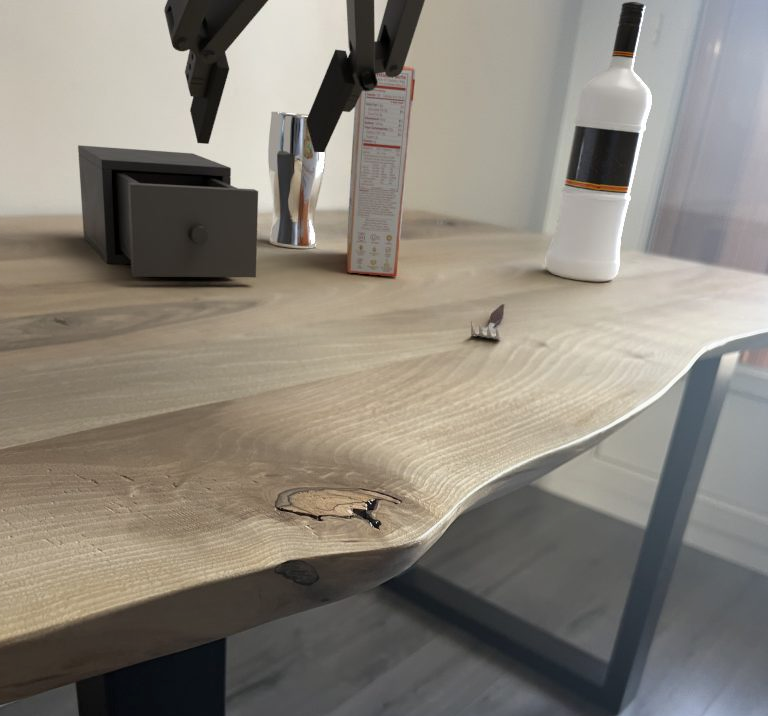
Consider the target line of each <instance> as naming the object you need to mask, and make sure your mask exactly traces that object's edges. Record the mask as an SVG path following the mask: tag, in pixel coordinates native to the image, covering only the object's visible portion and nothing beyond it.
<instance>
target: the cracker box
mask: <svg viewBox="0 0 768 716" xmlns="http://www.w3.org/2000/svg"><path fill="white" fill-rule="evenodd" d="M375 75H376V78H377V82H378V84H377V86H376V88H374V89H373V90H371V91H362V93H361V95H360V97H359V99H358V100H357V103H356V105H355V107H354V112H353V113H354V115H353V117H354V118H353V131H352V148H351V162H350V163H351V165H350V181H349V197H348V198H349V199H348V215H347V216H348V217H347V218H348V219H347V236H346V237H347V242H346V243H347V244H346V248H347V249H346V261H347V262H346V263H347V264H346V265H347V273H348V272H349V273H348V274H351V273H360V274H369V275H368V276H377V275H380V277H390V276H392V277H393V278H395V277H397V276H398V266H399V265H398V264H399V253H400V243H401V233H402V232H401V231H402V221H403V208H404V199H405V187H406V176H407V166H408V165H407V164H408V154H409V146H410V145H409V144H410V134H411V123H412V114H413V113H412V112H413V102H414V93H415V85H416V68H415V67H411V66H405V65H404V67H403V70H402V72H401V73H400V74H399V75H398V76H396V77H388V76H387V75H386V73H385V72H383V73H378V74H375ZM360 274H359V275H360ZM392 277H391V278H392Z"/></svg>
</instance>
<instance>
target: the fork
mask: <svg viewBox="0 0 768 716" xmlns="http://www.w3.org/2000/svg"><path fill="white" fill-rule="evenodd" d="M505 306H506V305H505V303H502V304H500V305H499V306H498V307H497V308H495V309H494V310H493V311H492V312H491V314H490V317H489V324H487V326H485V328H482V324H481V322H480V323H479V327H478V331H479V334H477V333H476V331H475V328H474V324H473V321H471V322H470V335H471V336H472V335H475V336H474V337H477V336H481V337H480V338H483V337H487V338H486V339H489V338H494V339H493V340H495V339H501V340H502V338H501V336H500V332H499V326H498V324H499V323H501V322H502V321H503V318H504V311H505V310H504V309H505ZM494 327H495V328H494ZM483 332H486V333H487V335H484V334H483ZM492 333H493V334H495V333H496V336H492V335H491V334H492Z"/></svg>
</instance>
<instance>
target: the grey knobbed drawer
mask: <svg viewBox="0 0 768 716" xmlns="http://www.w3.org/2000/svg"><path fill="white" fill-rule="evenodd" d="M112 191H113V212H114V233H115V245H116V246H117V247H118V248H119V249H120V250H121V251H122V252H123V253H124V254H125V255H126V256H127V257H128V258H129V259H130V260H131V264H130V270H131V276H133V277H135V278H257V252H258V251H257V249H258V247H257V246H258V217H259V216H258V214H259V213H258V212H259V211H258V210H259V207H258V206H259V190H256V189H254V188H238V187H236V186H234V185H229V184H227V183H224V182H222V181H220V180H217V179H215V178H213V177H210V176H204V175H186V174H169V173H153V172H136V171H119V170H112Z"/></svg>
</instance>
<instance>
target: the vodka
mask: <svg viewBox="0 0 768 716" xmlns="http://www.w3.org/2000/svg"><path fill="white" fill-rule="evenodd" d="M645 10H646V5H645V4H644V3H641V2H638V1H625V2H623V3H622V4H621V9H620V14H619V19H618V23H617V24H618V26H617V29H616V33H615V39H614V45H613V49H612V54H611V59H610V63H609V67H608V68H607V69H606V70H604V71H602V72H600V73H599V74H597V75H596V76H594V77H592V79H590V80H588V81H587V82H586V83H585V84H584V85H583V86H582V88H581V90H580V91H579V95H578V98H577V99H578V100H577V108H576V118H575V119H574V124H575V125H574V131H573V136H572V142H571V147H570V151H569V152H570V153H569V156H568V157H569V158H568V163H567V169H566V175H565V180H564V187H562V188H561V200H560V206H559V211H558V215H557V221H556V226H555V230H554V233H553V235H552V236H553V237H552V238H551V239H552V240H551V241H550V245H549V248H548V250H546V255H545V261H544V264H545V269H546V270H547V271H548V272H549V273H550V274H552V275H554V276H557V277H561V278H564V279H568V280H569V279H570V280H575V281H583V282H590V283H591V282H594V283H604V282H609V281H611V280H613V279H615V278H616V276H617V275H618V273H619V269H620V263H621V259H620V252H621V241H622V240H621V237H622V234H623V227H624V223H625V218H626V214H627V210H628V206H629V202H630V201H631V195H630V193H631V189H632V185H633V180H634V176H635V171H636V167H637V163H638V157H639V152H640V148H641V143H642V140H643V134H644V132H645V131H646V129H647V126H646V123H647V119H648V116H649V113H650V111H651V106H652V93H651V91H650V88H649V87H648V86H647V85H646V84H645V82H644V81H643V80H642V79H641V78H640V77H639V76H638V74H637V73H635V71H634V64H635V57H636V53H637V48H638V44H639V38H640V33H641V30H642V29H641V27H642V23H643V20H644V15H645V14H644V13H645Z"/></svg>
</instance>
